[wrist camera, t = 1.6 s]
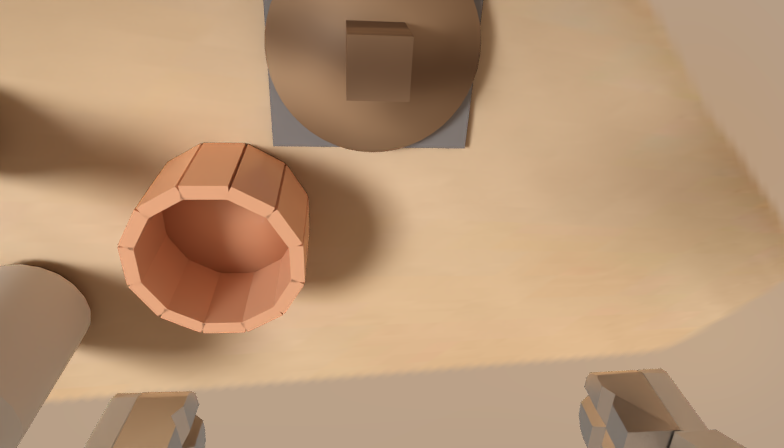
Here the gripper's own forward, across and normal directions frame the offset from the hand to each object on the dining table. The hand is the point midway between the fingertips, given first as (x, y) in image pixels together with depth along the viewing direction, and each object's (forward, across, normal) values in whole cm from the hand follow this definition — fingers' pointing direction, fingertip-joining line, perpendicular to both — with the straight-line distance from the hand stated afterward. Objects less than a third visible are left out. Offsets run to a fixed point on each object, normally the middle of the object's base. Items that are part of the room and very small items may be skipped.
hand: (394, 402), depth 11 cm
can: (+24, +24, +13) cm, 36 cm away
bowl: (+24, +9, +7) cm, 27 cm away
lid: (+23, 0, -3) cm, 24 cm away
